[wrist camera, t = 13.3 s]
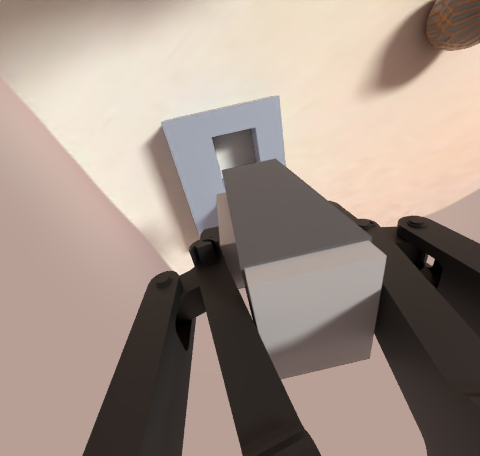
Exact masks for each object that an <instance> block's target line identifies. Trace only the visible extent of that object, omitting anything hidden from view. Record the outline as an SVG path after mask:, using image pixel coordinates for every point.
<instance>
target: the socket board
mask: <svg viewBox="0 0 480 456" xmlns="http://www.w3.org/2000/svg"><path fill="white" fill-rule="evenodd" d="M161 124H162V127H163V130H164V133H165V136H166V139H167V142H168V145H169V148H170V151H171V154H172V157H173V160H174V163H175V166H176V169H177V172H178V175H179V178H180V181H181V184H182V187H183V190H184V192H185V195H186V198H187V201H188V204H189V207H190V210H191V213H192V216H193V219H194V222H195V225H196V228H197V231H198V234H199V237H200V234H201V233H202V232H203V230H204V229H208V228H212V227H217V226H219V224H218V212H217V199H216V194H220V193H225V192H226V190H225V185H224V180H223V179H222V176H221V172H220V168H219V164H218V160H217V156H216V151H215V147H214V143H213V139H212V137H215V136H219V135H224V134H228V133H233V132H237V131H241V130H246V129H250V128H251V132H252V138H253V144H254V151H255V157H256V163H257V162H262V161H266V160H271V159H275V158H276V159H277V160H278V161H279V162H281V163H282V164H283V165H284V166H285V167H286V163H285V153H284V142H283V131H282V120H281V110H280V99H279V96H271V97H267V98H262V99H258V100H253V101H249V102H244V103H240V104H236V105H231V106H227V107H222V108H218V109H213V110H209V111H205V112H200V113H196V114H191V115H187V116H182V117H178V118H174V119H169V120H166V121H163V122H161Z"/></svg>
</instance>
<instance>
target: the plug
mask: <svg viewBox="0 0 480 456" xmlns="http://www.w3.org/2000/svg"><path fill="white" fill-rule="evenodd" d="M222 174H223V180H224V185H225V190H226V195H227V200H228V206H229V211H230V216H231V221H232V226H233V231H234V237H235V242H236V247H237V252H238V257H239V263H240V267H241V272H242V276H243V280H244V284H245V288H246V293H247V297H248V301H249V305H250V310H251V314H252V318H253V322H254V324H255V326H256V328H257V331H258V333H259V335H260V337H261V339H262V341H263V343H264V345H265V348H266V350H267V352H268V354H269V356H270V358H271V360H272V362H273V365H274V367H275V369H276V371H277V373H278V375H279V377H280V379H284V378H289V377H293V376H297V375H302V374H306V373H310V372H314V371H319V370H323V369H327V368H331V367H336V366H340V365H344V364H349V363H353V362H357V361H361V360H366V359H369V358H370V353H371V347H372V341H373V335H374V329H375V323H376V317H377V311H378V305H379V299H380V293H381V287H382V281H383V275H384V269H385V263H386V258H387V256H386V255H385V254H384V253H383V252H382V251H380V250H379V249H378V248H377V247H376V246H375V245H373V244H372V243H371V241H372V236H370V235H369V234H368V233H367V232H366V231H364V230H363V229H362V228H361V227H359V226H358V225H357V224H356V223H354V222H353V221H352V220H351V219H350V218H348V217H347V216H346V215H345V214H343V213H342V212H341V211H340V210H338V209H337V208H336V207H335V206H334V205H332V204H331V203H330V202H329V201H327V200H326V199H325V198H324V197H322V196H321V195H320V194H319V193H317V192H316V191H315V190H314V189H313V188H311V187H310V186H309V185H308V184H306V183H305V182H304V181H303V180H301V179H300V178H299V177H298V176H297V175H295V174H294V173H293V172H292V171H290V170H289V169H288V168H287V167H285V166H284V165H283V164H282V163H281V162H279V161H278V160H277V159H276V158H275V159H271V160H266V161H262V162H257V163H252V164H248V165H243V166H239V167H234V168H230V169H225V170H222Z"/></svg>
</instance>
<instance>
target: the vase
mask: <svg viewBox="0 0 480 456" xmlns="http://www.w3.org/2000/svg"><path fill="white" fill-rule="evenodd" d="M426 34H427V38H428V40H429V42H430V43H431V44H432V45H433V46H434V47H436V48H438V49H441V50H446V51H454V50H461V49H465V48H469V47H472V46H474V45H477V44H479V43H480V0H436V2H435V4H434V5H433V7H432V9H431V11H430V13H429V16H428V19H427V24H426Z"/></svg>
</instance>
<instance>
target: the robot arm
mask: <svg viewBox="0 0 480 456" xmlns="http://www.w3.org/2000/svg"><path fill="white" fill-rule="evenodd" d="M216 199H217V212H218V224H219V226H217V227H212V228H208V229H204V230H203V232H202V233H201V234H200V240H198V241H196V242H194V243H193V244H192V245H191V246H190V248H189V252H190V255H191V257H192V260H193V263H194V266H195V267H194V268H193V269H191V270H190V271H188V272H186V273H184V274H182V275H180V276H179V275H178V274H177V273H176V272H174V271H166V272H163V273H160V274H158V275H157V276H155V277H154V278H153V279H152V280H151V281H150V283H149V284H148V287H147V290H146V292H145V295H144V298H143V300H142V302H141V305H140V308H139V310H138V313H137V315H136V318H135V321H134V323H133V326H132V329H131V331H130V334H129V336H128V339H127V341H126V344H125V347H124V349H123V352H122V354H121V357H120V360H119V362H118V365H117V367H116V370H115V373H114V375H113V378H112V380H111V383H110V386H109V388H108V391H107V394H106V396H105V399H104V401H103V404H102V406H101V409H100V412H99V414H98V417H97V420H96V422H95V425H94V427H93V430H92V433H91V435H90V438H89V440H88V443H87V445H86V448H85V450H84V453H83V456H182V447H183V438H184V427H185V418H186V409H187V399H188V389H189V380H190V370H191V360H192V351H193V342H194V332H195V323H196V317H197V316H199V315H201V314H203V313H204V312H207V317H208V321H209V324H210V328H211V332H212V336H213V340H214V344H215V348H216V352H217V356H218V360H219V364H220V368H221V371H222V375H223V379H224V383H225V387H226V391H227V395H228V399H229V403H230V407H231V411H232V415H233V419H234V423H235V427H236V431H237V435H238V438H239V442H240V446H241V450H242V455H243V456H321V454H320V452H319V450H318V449H317V447H316V445H315V443H314V441H313V440H312V438H311V436H310V435H309V434H308V432H307V431H306V430H305V429H304V427H303V425H302V424H301V422H300V420H299V418H298V416H297V413H296V411H295V409H294V407H293V405H292V403H291V401H290V399H289V396H288V395H287V392H286V390H285V388H284V386H283V384H282V382H281V379H280V377H279V375H278V373H277V371H276V369H275V367H274V365H273V362H272V360H271V358H270V356H269V354H268V352H267V350H266V348H265V345H264V343H263V341H262V339H261V337H260V335H259V333H258V331H257V328H256V326H255V324H254V322H253V320H252V318H251V316H250V314H249V311H248V309H247V307H246V305H245V303H244V301H243V299H242V297H241V294H240V293H239V290H238V289H240V288H245V284H244V280H243V276H242V272H241V267H240V263H239V257H238V252H237V247H236V242H235V237H234V231H233V226H232V221H231V216H230V211H229V206H228V200H227V195H226V192H225V193H220V194H216ZM329 202H330V203H331V204H332V205H334V206H335V207H336V208H337V209H338V210H340V211H341V212H342V213H343V214H345V215H346V216H347V217H348V218H350V219H351V220H352V221H353V222H354V223H356V224H357V225H358V226H359V227H361V228H362V229H363V230H364V231H366V232H367V233H368V234H369V235H370V236H372V241H371V243H372V244H373V245H375V246H376V247H377V248H378V249H379V250H380V251H382V252H383V253H384V254H385V255H386V256H387V258H386V263H385V269H384V275H383V281H382V287H381V293H380V299H379V305H378V311H377V317H376V323H375V329H374V334H375V336H376V338H377V340H378V342H379V344H380V346H381V349H382V351H383V353H384V355H385V357H386V359H387V361H388V363H389V366H390V367H391V369H392V372H393V374H394V376H395V378H396V380H397V382H398V385H399V386H400V389H401V391H402V393H403V395H404V397H405V399H406V401H407V404H408V406H409V408H410V410H411V412H412V414H413V416H414V419H415V421H416V423H417V425H418V427H419V429H420V431H421V433H422V436H423V438H424V441H425V445H426V449H427V456H480V244H479V243H477V242H475V241H473V240H471V239H469V238H467V237H465V236H463V235H461V234H459V233H457V232H455V231H453V230H451V229H449V228H447V227H445V226H442V225H440V224H438V223H436V222H434V221H432V220H430V219H427V218H425V217H420V216H407V217H403V218H400V219H399V221H398V225H397V227H380V226H379V225H378V224H377V223H376V222H374V221H371V220H368V219H357V218H356V217H355V216H353V215H352V214H351V213H349V212H348V211H346V210H345V209H344V208H342V206H340V205H339V204H338V203H335V202H332V201H329ZM428 255H430V256H431V257H433V258H434V259H435V261H434V264H433V266H431V265H429V264H428V263H426V261H427V258H428Z"/></svg>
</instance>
